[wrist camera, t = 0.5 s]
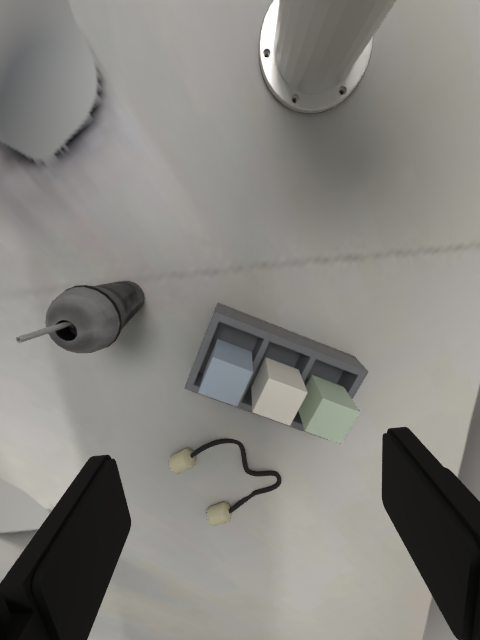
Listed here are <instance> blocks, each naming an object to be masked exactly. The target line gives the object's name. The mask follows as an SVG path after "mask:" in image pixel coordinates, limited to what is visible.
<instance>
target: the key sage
mask: <svg viewBox="0 0 480 640" xmlns="http://www.w3.org/2000/svg"><path fill="white" fill-rule="evenodd" d="M305 387H306V389H307V392H308V393H307V395H306V397H305V399H304V401H303V402H302V404H301V406H300V408H299V410H298V411H299V414H300V417H301V421H302V424H303V427H304V431H306V432H308V433H311V434H314V435H317V436H320V437H322V438H325V439H328V440H331V441H333V442H336V443H339V444H341V443H342V441H343V440H344V438H345V437H346V435H347V433H348V432H349V430H350V428H351V427H352V425H353V423H354V422H355V420H356V418H357V417H358V415H359V414H360V411H359V409H358V408H357V406H356V405H355V403H354V402H353V400H352V399H351V397H350V396H349V394H348V392H347V391H346V389H345V388H344V387H343V386H340V385H338V384H335V383H332V382H330V381H327V380H324V379H322V378H319V377H317V376H314V375H311V377H310V379H309V381H308V383H307V385H306V386H305Z"/></svg>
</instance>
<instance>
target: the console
mask: <svg viewBox="0 0 480 640" xmlns="http://www.w3.org/2000/svg"><path fill="white" fill-rule="evenodd" d="M217 339H220V340H222V341H225V342H227V343H230V344H233V345H235V346H238V347H241V348H243V349H246V350H248V351H251V352H252V362H253V374H252V376H251V378H250V380H249V382H248V384H247V387H246V389H245V391H244V393H243V395H242V397H241V400H240V402H239V404H238V406H237V407H238V408H240V409H243V410H246V411H249V412H251V413H253V412H252V392H251V387H252V385H253V382H254V380H255V378H256V376H257V374H258V372H259V370H260V367H261V365H262V363H263V361H264V359H265V357H267V358H269V359H272V360H275V361H277V362H280V363H283V364H285V365H288V366H290V367H293V368H296V369H298V370H299V372H300V374H301V377H302V379H303V382H304V384H305V386H306V385H307V383H308V381H309V379H310V377H311V375H314V376H317V377H319V378H322V379H324V380H327V381H330V382H332V383H335V384H338V385H340V386H343V387H344V388H345V389H346V391H347V392H348V394H349V396H350V397H351V399H353V397H354V395H355V394H356V392H357V390H358V389H359V387H360V385H361V384H362V382H363V380H364V378H365V377H366V375H367V373H368V371H367V370H366V369H365V367H364V366H363V365H362V364H361V363H360V362H359V361H358V360H357V359H356V357H354V356H352V355H349V354H347V353H344V352H342V351H339V350H336V349H334V348H331V347H329V346H326V345H324V344H321V343H319V342H316V341H314V340H311V339H309V338H306V337H303V336H301V335H298V334H296V333H293V332H291V331H288V330H286V329H283V328H281V327H278V326H276V325H273V324H270V323H268V322H265V321H263V320H260V319H258V318H255V317H253V316H250V315H248V314H245V313H242V312H240V311H237V310H235V309H232V308H230V307H227V306H225V305H222V304H220V303H218V304H217V306H216V309H215V311H214V314H213V316H212V319H211V321H210V324H209V327H208V329H207V332H206V334H205V337H204V339H203V342H202V344H201V347H200V350H199V352H198V355H197V357H196V360H195V362H194V365H193V367H192V370H191V373H190V375H189V378H188V380H187V383H186V385H185V389H188V390H190V391H193V392H196V393H198V392H199V388H200V385H201V381H202V378H203V374H204V371H205V368H206V366H207V363H208V361H209V358H210V356H211V353H212V351H213V348H214V346H215V344H216V341H217ZM199 394H200V393H199ZM201 395H203V394H201ZM204 396H206V395H204ZM207 397H208V396H207ZM210 398H211V397H210ZM213 399H214V398H213ZM215 400H217V399H215ZM218 401H220V400H218ZM221 402H222V401H221ZM224 403H225V402H224ZM226 404H228V403H226ZM229 405H231V404H229ZM232 406H233V405H232ZM235 407H236V406H235ZM254 414H256V413H254ZM257 415H258V414H257ZM260 416H261V415H260ZM263 417H264V416H263ZM265 418H267V417H265ZM268 419H270V418H268ZM271 420H272V419H271ZM274 421H275V420H274ZM276 422H278V421H276ZM279 423H281V422H279ZM282 424H283V423H282ZM285 425H286V424H285ZM288 426H289V425H288ZM290 427H293V428H296V429H299V430H302V431H304V427H303V424H302V421H301V417H300V414H299V411H298V412H297V414H296V415H295V417H294V419H293V421H292V423H291V425H290ZM304 432H306V431H304ZM307 433H308V432H307ZM310 434H311V433H310ZM313 435H314V434H313ZM315 436H317V435H315ZM318 437H320V436H318ZM321 438H322V437H321ZM324 439H325V438H324ZM327 440H328V439H327Z"/></svg>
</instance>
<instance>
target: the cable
mask: <svg viewBox="0 0 480 640" xmlns="http://www.w3.org/2000/svg"><path fill="white" fill-rule="evenodd" d="M223 443H235V444H238V446H239V447H240V450H241V454H242V462H243V467H244V470H245V472H246V473H247V474H249V475H252V476H276V478H277V482H276V483H275V484H274V485H272V486H269V487H266V488H263V489H259V490H255V491H253V492H252V493H251V494H250V495H249V496H247V497H245V498H243V499H242V500H240V501H239V502H238V503H236V504H235V505H234V506H232V507H230V505H229V504H228V503H227V502H222V503H219V504H216V505H212V506H210V507H209V508H208V510H206V513H207V516H208V519H207V521H209V523H210V524H211V525H212V526H215V525H219V524H222V523H226V522H229V521H230V519H231V514H232V512H233V511H234V510H236V509H237V508H238V507H240V506H241V505H242V504H244V503H245V502H246V501H248V500H249V499H250V498H252V497H253V496H255V495H258V494H262V493H266V492H269V491H272V490H274V489H276V488H278V487H279V486H280V484H281V477H280V475H279V473H277V472H275V471H261V472H256V471H252V470H249V468H248V466H247V460H246V453H245V448H244V446H243V444H242V443H241V442H239V441H237V440H234V439H220V440H215V441H212V442H210V443H207V444H205V445H203V446H201V447H200V448H198V449H196V450H195V451H194V452H193V451H192V450H191V449H189V448H185V449H183V450H182V451H180V452H178V453H176V454H174V455H172V456H171V457H170V459H169V461H168V462H169V466H170V469H171V470H172V472H173V473H175V474H179V473H181V472H183V471H185V470H187V469H189V468H191V467H193V466H194V464H195V456H196V455H197V454H198V453H200V452H202V451H203V450H205V449H207V448H209V447H212V446H215V445H218V444H223Z"/></svg>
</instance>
